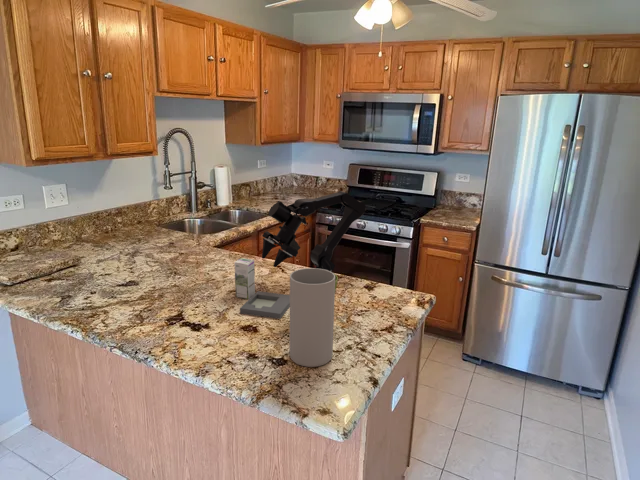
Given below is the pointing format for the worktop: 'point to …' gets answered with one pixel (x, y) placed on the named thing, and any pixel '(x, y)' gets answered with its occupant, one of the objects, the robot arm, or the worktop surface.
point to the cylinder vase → (311, 316)
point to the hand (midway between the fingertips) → (268, 262)
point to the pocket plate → (266, 305)
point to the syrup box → (244, 278)
